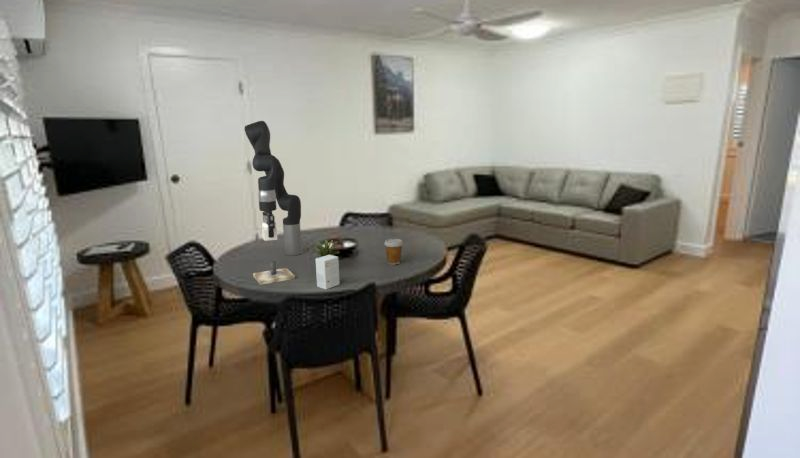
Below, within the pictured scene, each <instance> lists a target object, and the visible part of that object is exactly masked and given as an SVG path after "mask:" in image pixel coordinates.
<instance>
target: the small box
mask: <svg viewBox="0 0 800 458" xmlns="http://www.w3.org/2000/svg"><path fill="white" fill-rule="evenodd" d="M339 263H340V262H339V256H336V255H334V254H333V255H326V256H323V257H322V256H320V257H316V258H315V272H316V274H315V275H316V286H317V288H321V289H324V290H328V289H330V288H334V287H337V286H340V268H339V266H340V265H339Z"/></svg>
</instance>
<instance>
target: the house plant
mask: <svg viewBox="0 0 800 458" xmlns="http://www.w3.org/2000/svg"><path fill="white" fill-rule="evenodd" d="M333 240H334V239H332V240H330V242H328V240H327V239H326V238H325V239H324V245H323V244H322V243H320V242H317V244H316V245H315V247H316V248H318V249H317V250H315V252H316V253H318V254H317V255H316V257H317V258H320V257H323V256H326V255H333V256H334V255H338V254H339V255H340V250H338V249H339V247H337V246H339V245H341V244H339V243H338V241H335V242H333ZM332 242H333V244H332ZM337 243H338V244H337Z"/></svg>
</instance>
